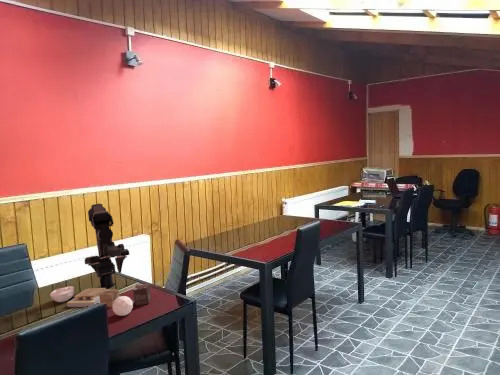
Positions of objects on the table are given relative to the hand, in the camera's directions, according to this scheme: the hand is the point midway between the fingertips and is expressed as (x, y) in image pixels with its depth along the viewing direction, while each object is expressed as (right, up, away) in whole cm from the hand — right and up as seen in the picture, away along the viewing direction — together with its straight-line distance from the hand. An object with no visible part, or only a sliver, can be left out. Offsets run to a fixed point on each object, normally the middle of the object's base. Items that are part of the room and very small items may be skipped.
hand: (110, 275), depth 180 cm
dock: (-13, -14, +13) cm, 23 cm away
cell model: (-28, -16, +16) cm, 36 cm away
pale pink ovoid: (+10, -14, -8) cm, 19 cm away
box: (+14, -12, +2) cm, 19 cm away
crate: (-1, -14, +3) cm, 14 cm away
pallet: (-13, -12, +12) cm, 22 cm away
